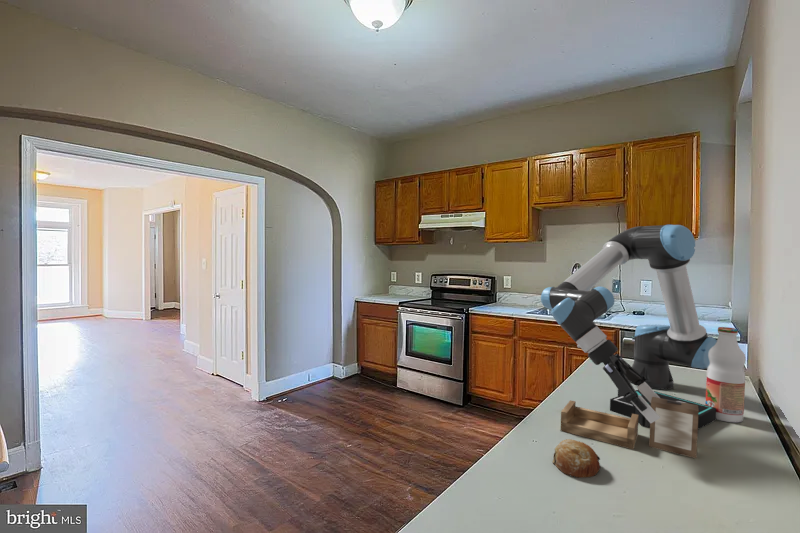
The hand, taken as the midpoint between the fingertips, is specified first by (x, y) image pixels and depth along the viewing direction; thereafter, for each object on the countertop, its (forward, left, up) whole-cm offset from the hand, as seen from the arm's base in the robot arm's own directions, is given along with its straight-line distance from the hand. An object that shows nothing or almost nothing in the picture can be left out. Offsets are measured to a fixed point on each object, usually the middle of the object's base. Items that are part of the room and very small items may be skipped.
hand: (657, 412), depth 106 cm
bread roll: (+25, +13, -9) cm, 30 cm away
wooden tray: (+12, -7, -9) cm, 16 cm away
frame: (-4, +1, -9) cm, 10 cm away
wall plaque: (-13, -23, -10) cm, 28 cm away
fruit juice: (-32, -23, -9) cm, 41 cm away
